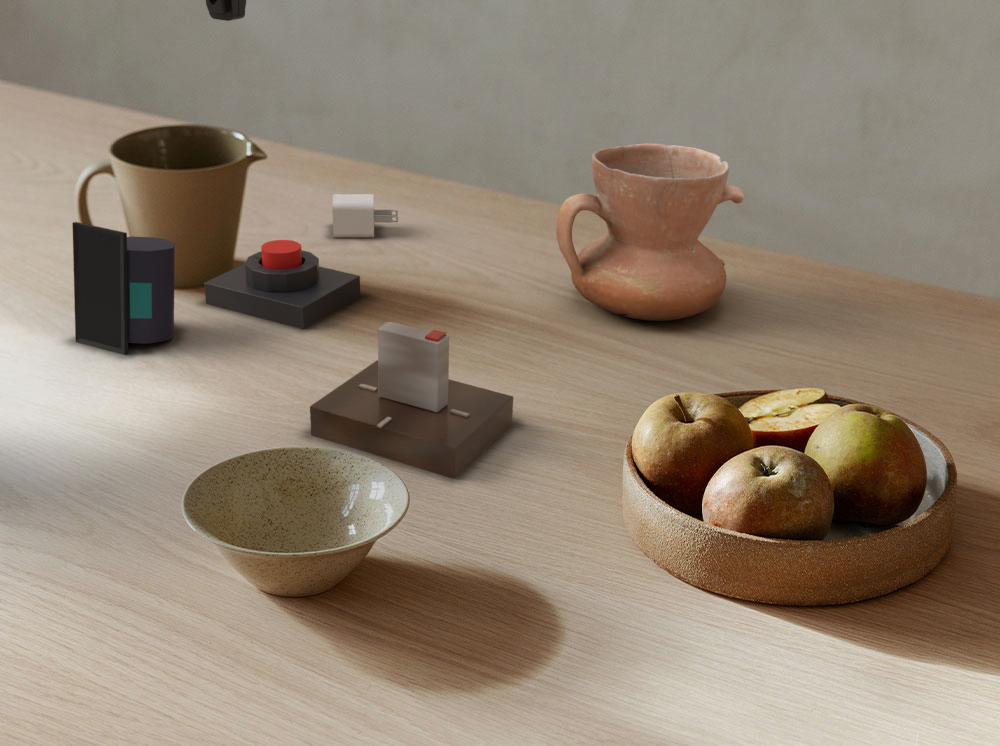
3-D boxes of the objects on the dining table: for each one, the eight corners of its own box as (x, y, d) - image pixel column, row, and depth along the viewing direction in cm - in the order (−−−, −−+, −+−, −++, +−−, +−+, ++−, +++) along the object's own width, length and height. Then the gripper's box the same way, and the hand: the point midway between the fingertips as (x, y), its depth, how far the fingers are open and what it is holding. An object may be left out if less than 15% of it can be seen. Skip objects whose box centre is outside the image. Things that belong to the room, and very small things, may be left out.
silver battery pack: (378, 396, 81) (377, 325, 79) (389, 388, 82) (389, 317, 80) (437, 413, 79) (438, 340, 77) (448, 403, 80) (449, 332, 78)
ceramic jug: (697, 272, 114) (714, 135, 107) (760, 328, 101) (783, 178, 95) (529, 282, 110) (536, 140, 103) (572, 342, 97) (583, 185, 91)
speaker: (107, 362, 90) (100, 237, 86) (74, 343, 93) (66, 222, 90) (190, 345, 95) (187, 227, 91) (156, 327, 98) (152, 213, 95)
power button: (254, 266, 101) (252, 248, 100) (278, 254, 104) (277, 237, 103) (286, 274, 99) (285, 255, 98) (310, 262, 102) (309, 244, 101)
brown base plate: (310, 436, 81) (308, 404, 79) (378, 387, 88) (377, 357, 87) (453, 481, 76) (454, 447, 75) (512, 424, 83) (514, 393, 82)
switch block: (205, 304, 102) (202, 264, 100) (266, 274, 109) (264, 236, 107) (303, 330, 97) (302, 288, 95) (360, 297, 104) (359, 257, 103)
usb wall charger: (334, 227, 122) (333, 192, 120) (397, 227, 123) (397, 192, 121) (333, 239, 119) (332, 203, 117) (398, 239, 119) (398, 204, 118)
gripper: (228, -245, 81) (244, 3, 88) (92, -259, 70) (123, 24, 78) (313, -243, 78) (321, 13, 85) (184, -258, 67) (207, 36, 75)
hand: (227, 18), depth 81 cm, fingers closed
